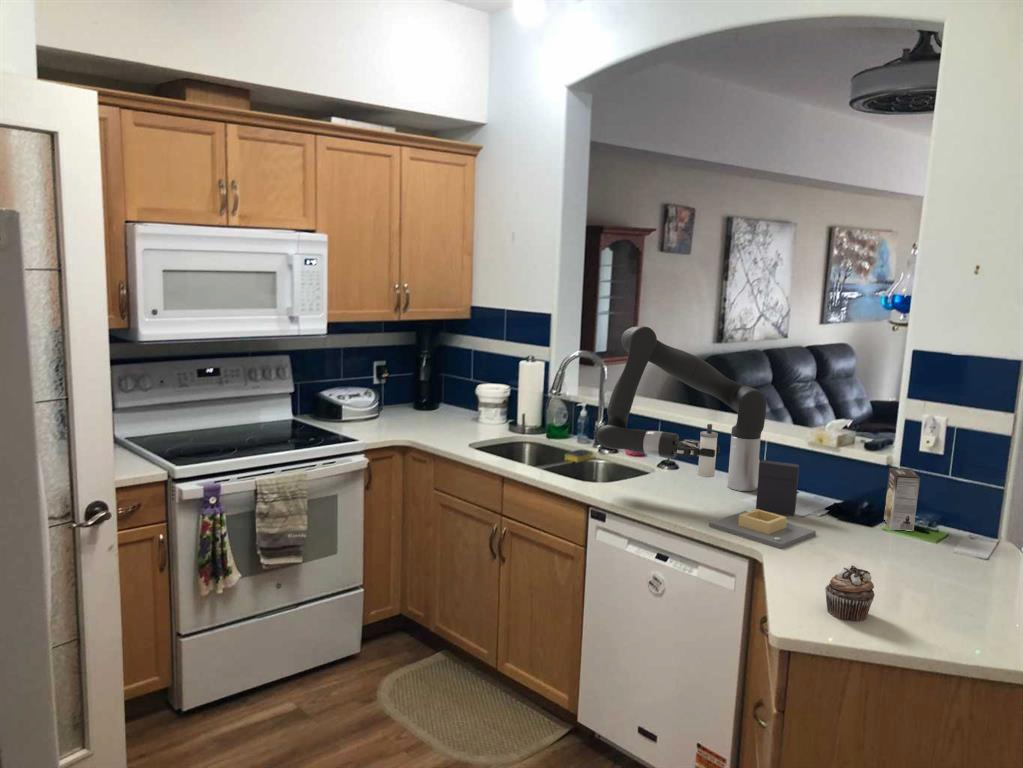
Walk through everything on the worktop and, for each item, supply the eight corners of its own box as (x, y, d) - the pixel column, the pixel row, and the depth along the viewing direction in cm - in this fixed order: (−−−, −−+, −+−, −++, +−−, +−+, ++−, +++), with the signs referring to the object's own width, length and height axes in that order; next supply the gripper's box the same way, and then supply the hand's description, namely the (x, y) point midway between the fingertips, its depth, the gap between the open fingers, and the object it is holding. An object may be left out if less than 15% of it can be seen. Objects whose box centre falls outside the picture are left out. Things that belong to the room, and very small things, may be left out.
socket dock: (744, 514, 241) (746, 500, 240) (815, 534, 225) (816, 520, 224) (709, 526, 229) (710, 512, 228) (780, 548, 213) (782, 533, 212)
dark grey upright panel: (795, 513, 244) (799, 464, 242) (793, 516, 240) (798, 467, 238) (757, 507, 249) (761, 459, 247) (755, 511, 245) (759, 462, 243)
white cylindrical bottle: (704, 472, 247) (707, 422, 245) (718, 475, 244) (721, 424, 241) (694, 474, 244) (697, 423, 242) (708, 478, 241) (712, 426, 238)
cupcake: (835, 600, 181) (839, 557, 180) (879, 615, 174) (884, 570, 173) (814, 612, 175) (818, 567, 173) (859, 627, 168) (864, 581, 166)
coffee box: (882, 520, 240) (888, 467, 237) (906, 522, 239) (912, 468, 236) (890, 530, 231) (896, 475, 228) (915, 532, 230) (921, 477, 227)
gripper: (654, 436, 243) (711, 443, 235) (669, 427, 255) (724, 435, 247) (652, 460, 244) (709, 469, 236) (667, 451, 256) (722, 459, 248)
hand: (716, 451), depth 242 cm, fingers closed on white cylindrical bottle, 4 cm apart
